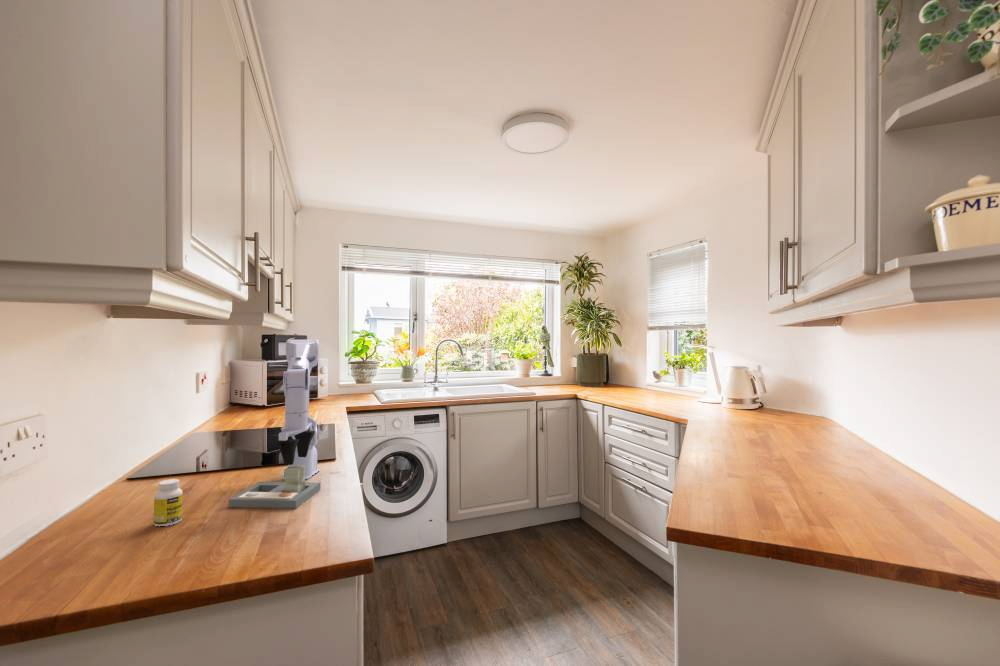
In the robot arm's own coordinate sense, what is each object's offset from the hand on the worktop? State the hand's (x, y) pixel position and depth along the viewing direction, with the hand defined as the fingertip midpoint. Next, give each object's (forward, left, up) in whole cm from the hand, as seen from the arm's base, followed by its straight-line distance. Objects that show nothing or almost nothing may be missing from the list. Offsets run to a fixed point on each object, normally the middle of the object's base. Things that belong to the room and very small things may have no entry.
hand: (295, 460), depth 122 cm
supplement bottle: (+19, -21, -10) cm, 30 cm away
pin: (0, 0, -10) cm, 10 cm away
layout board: (+2, -4, -10) cm, 11 cm away
